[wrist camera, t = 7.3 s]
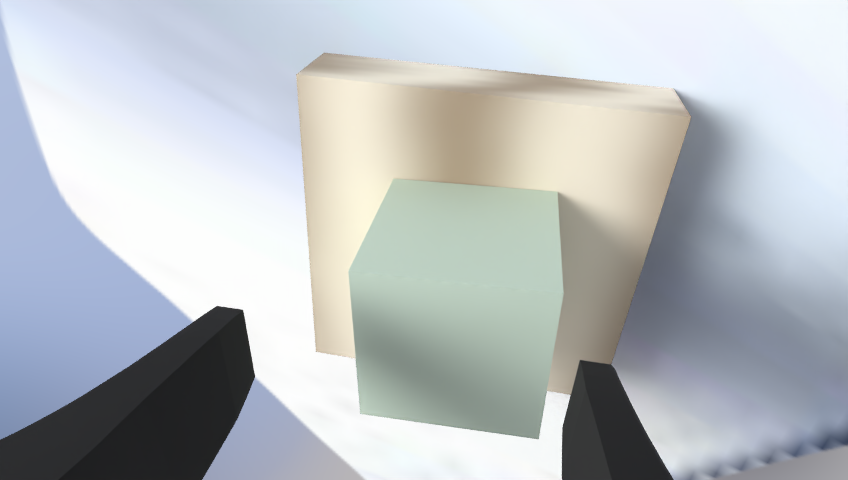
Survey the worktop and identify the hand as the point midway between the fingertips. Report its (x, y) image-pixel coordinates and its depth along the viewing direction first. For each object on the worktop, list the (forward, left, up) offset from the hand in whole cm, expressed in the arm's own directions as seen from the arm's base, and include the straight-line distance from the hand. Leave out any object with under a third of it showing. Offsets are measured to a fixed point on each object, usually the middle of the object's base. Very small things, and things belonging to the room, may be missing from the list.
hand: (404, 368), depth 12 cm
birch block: (-1, +2, -10) cm, 10 cm away
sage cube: (-1, +2, -7) cm, 7 cm away
